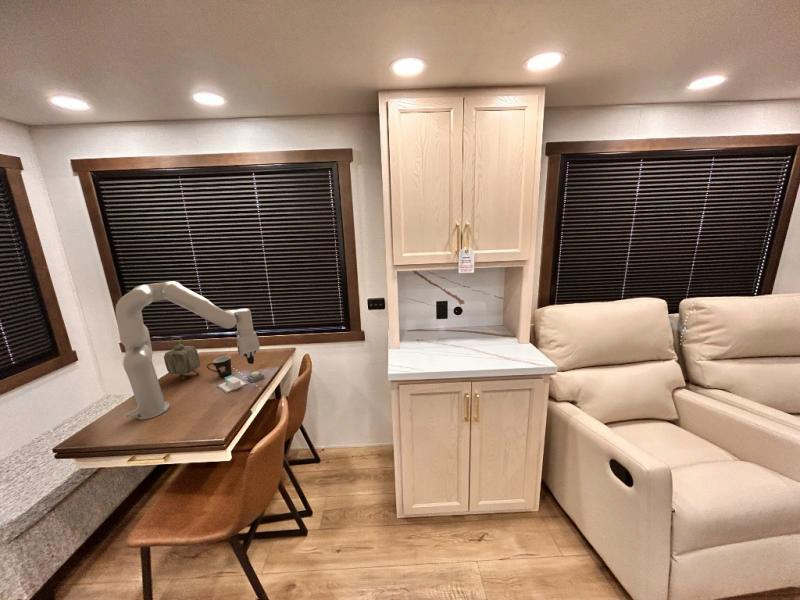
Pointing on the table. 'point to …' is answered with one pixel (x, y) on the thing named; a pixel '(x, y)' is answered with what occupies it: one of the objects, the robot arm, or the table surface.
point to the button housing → (255, 378)
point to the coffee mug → (222, 366)
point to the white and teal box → (233, 382)
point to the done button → (255, 374)
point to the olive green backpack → (182, 359)
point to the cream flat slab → (228, 389)
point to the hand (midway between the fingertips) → (251, 363)
